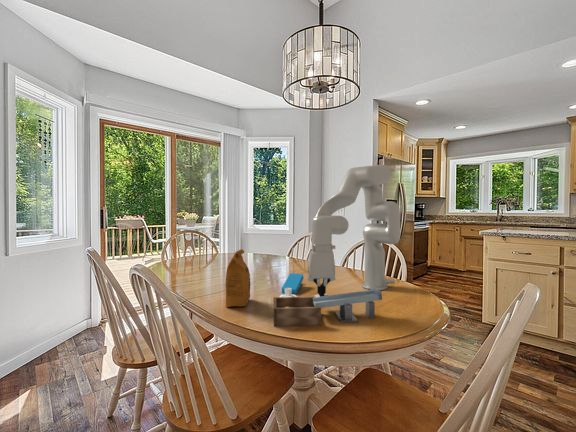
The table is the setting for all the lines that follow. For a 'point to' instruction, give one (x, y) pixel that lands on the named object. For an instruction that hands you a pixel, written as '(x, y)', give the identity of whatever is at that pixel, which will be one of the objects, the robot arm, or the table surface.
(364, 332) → the table surface
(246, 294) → the coffee package
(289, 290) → the teacup and saucer
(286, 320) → the box
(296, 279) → the blue rectangular block
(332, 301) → the lever
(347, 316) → the stand
